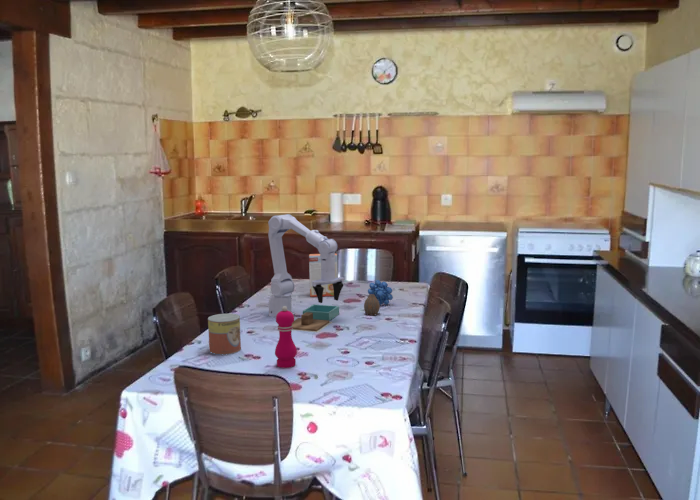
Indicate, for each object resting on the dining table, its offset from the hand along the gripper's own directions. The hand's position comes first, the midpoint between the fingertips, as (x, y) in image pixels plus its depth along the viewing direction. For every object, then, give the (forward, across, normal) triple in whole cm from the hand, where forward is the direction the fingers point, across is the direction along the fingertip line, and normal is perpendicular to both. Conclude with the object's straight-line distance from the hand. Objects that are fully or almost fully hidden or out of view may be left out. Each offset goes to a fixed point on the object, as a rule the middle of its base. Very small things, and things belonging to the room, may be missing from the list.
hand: (328, 301), depth 253 cm
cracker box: (+10, +25, +45) cm, 53 cm away
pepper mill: (+9, -39, -36) cm, 54 cm away
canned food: (+10, -49, -9) cm, 51 cm away
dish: (+9, +2, +10) cm, 13 cm away
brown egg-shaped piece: (+10, +23, +1) cm, 25 cm away
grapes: (+10, +35, +12) cm, 38 cm away
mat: (+9, -10, 0) cm, 14 cm away
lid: (+9, -10, 0) cm, 13 cm away
